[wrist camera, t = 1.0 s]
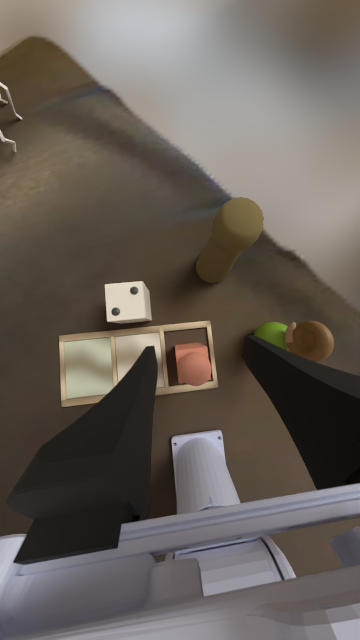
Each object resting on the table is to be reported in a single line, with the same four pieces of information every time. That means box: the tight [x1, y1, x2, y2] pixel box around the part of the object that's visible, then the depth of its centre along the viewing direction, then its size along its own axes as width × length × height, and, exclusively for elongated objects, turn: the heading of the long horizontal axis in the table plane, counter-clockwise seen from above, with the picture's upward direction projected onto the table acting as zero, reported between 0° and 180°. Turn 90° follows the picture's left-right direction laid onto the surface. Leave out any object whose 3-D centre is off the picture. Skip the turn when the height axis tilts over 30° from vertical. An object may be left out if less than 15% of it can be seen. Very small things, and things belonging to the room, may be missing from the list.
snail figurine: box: [254, 321, 334, 362], centre depth 17 cm, size 5×6×12 cm
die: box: [105, 281, 152, 324], centre depth 20 cm, size 5×5×5 cm
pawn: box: [175, 343, 211, 386], centre depth 18 cm, size 4×4×9 cm
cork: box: [196, 197, 264, 283], centre depth 19 cm, size 6×6×11 cm
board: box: [59, 321, 218, 407], centre depth 22 cm, size 11×25×1 cm, turn 96°
